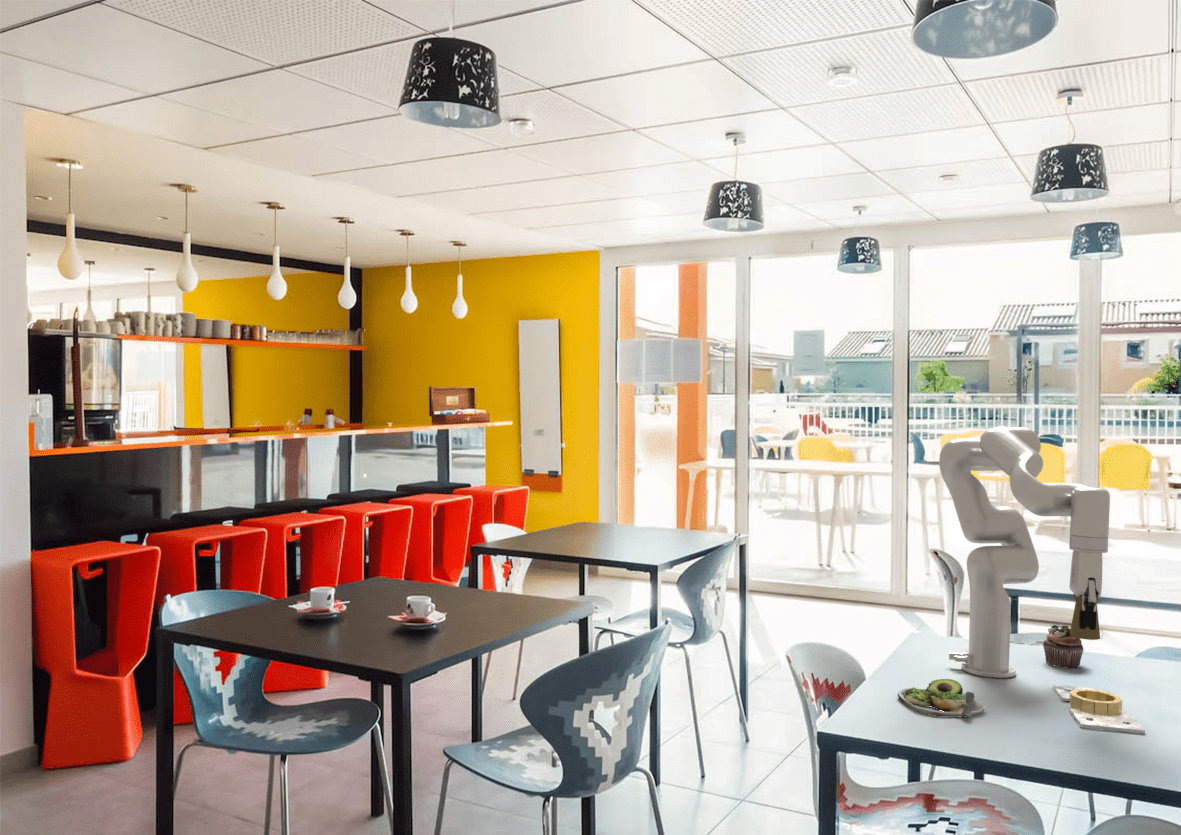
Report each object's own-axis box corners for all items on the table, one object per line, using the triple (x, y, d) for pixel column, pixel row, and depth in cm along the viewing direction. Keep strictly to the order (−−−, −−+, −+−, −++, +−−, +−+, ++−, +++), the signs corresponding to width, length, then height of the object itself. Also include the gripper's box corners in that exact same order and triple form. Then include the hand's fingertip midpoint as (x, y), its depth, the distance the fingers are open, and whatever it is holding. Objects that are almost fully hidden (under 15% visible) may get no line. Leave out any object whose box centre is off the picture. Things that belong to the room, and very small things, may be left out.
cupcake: (1091, 668, 249) (1093, 629, 249) (1058, 669, 247) (1060, 630, 247) (1066, 658, 259) (1067, 621, 259) (1034, 660, 257) (1035, 622, 257)
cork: (1098, 641, 209) (1100, 590, 208) (1067, 636, 212) (1069, 586, 212) (1101, 635, 214) (1104, 586, 213) (1071, 631, 217) (1073, 582, 217)
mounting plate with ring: (1080, 727, 202) (1081, 713, 202) (1052, 687, 231) (1052, 675, 231) (1145, 734, 199) (1145, 719, 199) (1107, 693, 228) (1108, 680, 228)
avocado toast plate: (1005, 724, 204) (1005, 702, 204) (921, 722, 204) (922, 701, 204) (966, 696, 224) (967, 676, 224) (890, 695, 223) (890, 675, 223)
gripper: (1063, 537, 221) (1060, 616, 222) (1076, 548, 205) (1073, 633, 206) (1099, 539, 219) (1096, 619, 220) (1116, 550, 203) (1112, 637, 204)
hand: (1085, 625), depth 213 cm, fingers closed on cork, 4 cm apart
